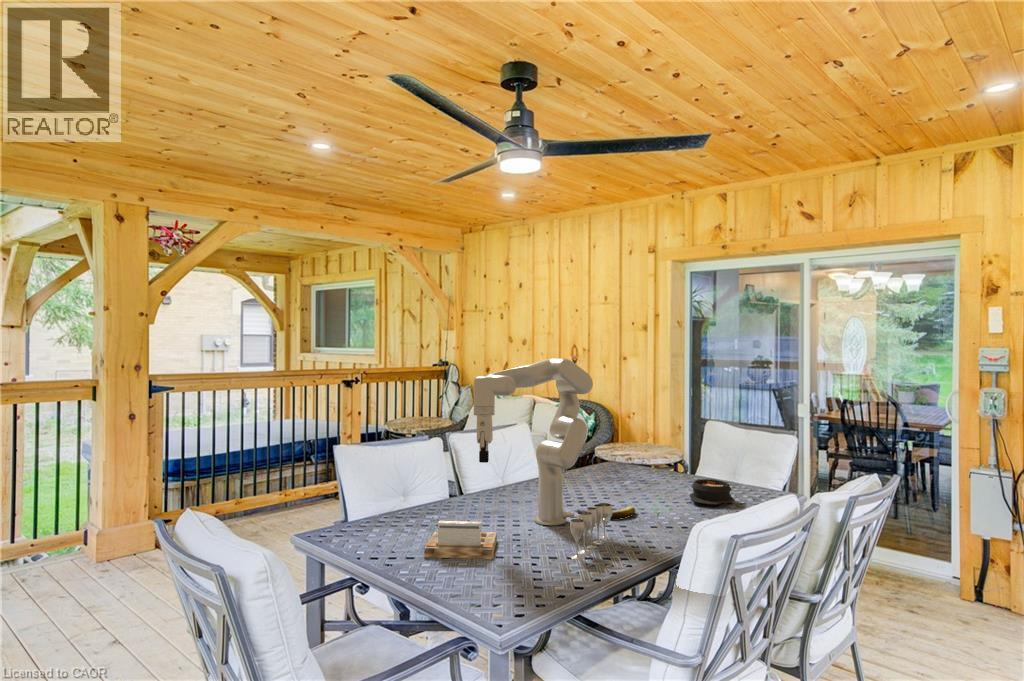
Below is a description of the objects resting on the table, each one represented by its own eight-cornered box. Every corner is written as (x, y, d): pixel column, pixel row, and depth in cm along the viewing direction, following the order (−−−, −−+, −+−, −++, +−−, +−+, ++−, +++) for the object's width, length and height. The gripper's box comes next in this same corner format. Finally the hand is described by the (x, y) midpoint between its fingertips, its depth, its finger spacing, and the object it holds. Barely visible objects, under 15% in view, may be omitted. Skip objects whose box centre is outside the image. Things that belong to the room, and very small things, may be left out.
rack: (496, 540, 208) (496, 531, 208) (491, 559, 190) (491, 548, 190) (435, 539, 210) (435, 530, 210) (424, 557, 192) (424, 547, 192)
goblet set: (582, 561, 189) (582, 519, 189) (565, 557, 192) (566, 516, 192) (615, 537, 213) (615, 500, 213) (600, 534, 216) (600, 498, 216)
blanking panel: (481, 550, 195) (481, 521, 195) (480, 553, 193) (480, 524, 193) (439, 549, 196) (439, 520, 196) (437, 552, 194) (437, 523, 194)
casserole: (699, 493, 278) (699, 475, 279) (740, 499, 268) (740, 480, 268) (680, 504, 258) (680, 485, 258) (724, 511, 247) (724, 491, 247)
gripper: (492, 413, 204) (492, 466, 204) (496, 408, 219) (496, 458, 219) (470, 413, 205) (470, 466, 205) (476, 408, 220) (476, 458, 219)
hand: (483, 461), depth 212 cm, fingers closed
